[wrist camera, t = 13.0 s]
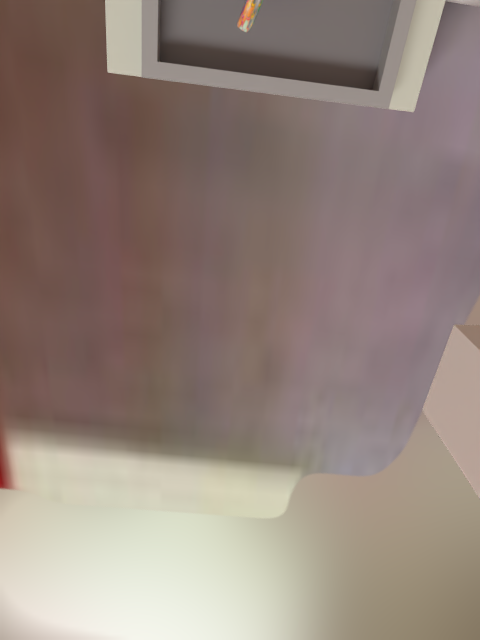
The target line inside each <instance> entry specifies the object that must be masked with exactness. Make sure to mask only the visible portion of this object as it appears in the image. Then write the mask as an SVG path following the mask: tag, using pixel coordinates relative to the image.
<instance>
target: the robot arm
mask: <svg viewBox="0 0 480 640" xmlns="http://www.w3.org/2000/svg"><path fill="white" fill-rule="evenodd" d="M422 411H423V412H424V413H425V415H426V417H427V418H428V420H429V421H430V423H431V425H432V426H433V428H434V429H435V431H436V432H437V434H438V435H439V437H440V438H441V440H442V441H443V443H444V445H445V446H446V448H447V449H448V451H449V452H450V454H451V455H452V457H453V459H454V460H455V462H456V463H457V465H458V466H459V468H460V469H461V471H462V472H463V474H464V476H465V477H466V478H467V480H468V482H469V483H470V485H471V486H472V488H473V489H474V491H475V493H476V494H477V496H478V497H479V499H480V325H454V326H453V329H452V332H451V334H450V337H449V340H448V342H447V345H446V348H445V350H444V353H443V356H442V358H441V361H440V364H439V366H438V369H437V372H436V375H435V377H434V380H433V383H432V385H431V388H430V391H429V393H428V396H427V399H426V401H425V404H424V407H423V409H422Z"/></svg>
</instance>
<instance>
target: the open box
mask: <svg viewBox="0 0 480 640" xmlns="http://www.w3.org/2000/svg"><path fill="white" fill-rule="evenodd" d="M445 1H447V2H453V3H459V4H466V5H472V6H478V7H480V0H263V2H262V4H261V7H260V9H259V12H258V14H257V17H256V19H255V21H254V24H253V26H252V28H251V30H250V31H249V32H244V31H242V30H241V29H239V28H238V26H237V22H238V19H239V17H240V14H241V11H242V9H243V6H244V3H245V0H105V10H106V40H107V70H108V72H109V73H116V74H124V75H132V76H140V77H144V78H152V79H160V80H167V81H175V82H183V83H190V84H198V85H206V86H214V87H221V88H229V89H237V90H244V91H252V92H260V93H268V94H275V95H283V96H291V97H298V98H306V99H314V100H321V101H329V102H337V103H345V104H352V105H360V106H368V107H375V108H383V109H394V110H401V111H409V112H414V110H415V106H416V103H417V99H418V96H419V92H420V89H421V85H422V81H423V78H424V74H425V71H426V67H427V64H428V60H429V57H430V53H431V50H432V46H433V43H434V39H435V36H436V32H437V29H438V25H439V22H440V18H441V15H442V11H443V8H444V4H445Z"/></svg>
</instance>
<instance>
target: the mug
mask: <svg viewBox="0 0 480 640" xmlns="http://www.w3.org/2000/svg"><path fill="white" fill-rule="evenodd" d="M262 2H263V0H245V3H244V6H243V9H242V11H241V14H240V17H239V19H238V22H237V26H238V28H239V29H241V30H242V31H244V32H249V31H250V30H251V28H252V26H253V24H254V21H255V19H256V17H257V14H258V12H259V9H260V7H261V4H262Z"/></svg>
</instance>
